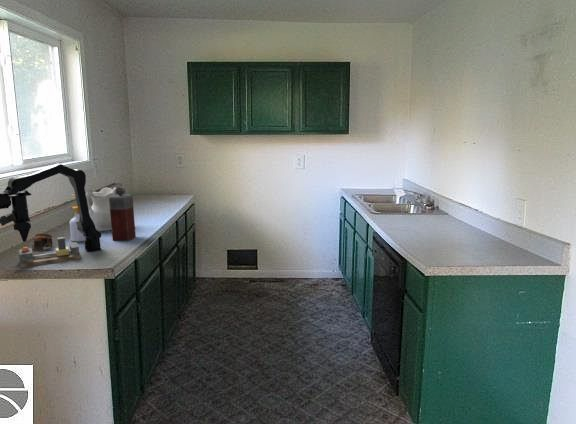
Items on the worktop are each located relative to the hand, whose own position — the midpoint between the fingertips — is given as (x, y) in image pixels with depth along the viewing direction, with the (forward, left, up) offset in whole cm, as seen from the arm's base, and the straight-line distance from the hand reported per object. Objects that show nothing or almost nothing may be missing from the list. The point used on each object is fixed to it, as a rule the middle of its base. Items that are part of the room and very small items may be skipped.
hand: (24, 241), depth 197 cm
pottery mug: (-8, -25, -10) cm, 29 cm away
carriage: (-14, 0, -8) cm, 16 cm away
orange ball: (0, 0, -5) cm, 5 cm away
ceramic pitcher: (-40, -52, -10) cm, 67 cm away
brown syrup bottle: (-46, -23, -10) cm, 53 cm away
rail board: (-10, 0, -10) cm, 14 cm away
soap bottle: (-25, -33, -10) cm, 43 cm away
